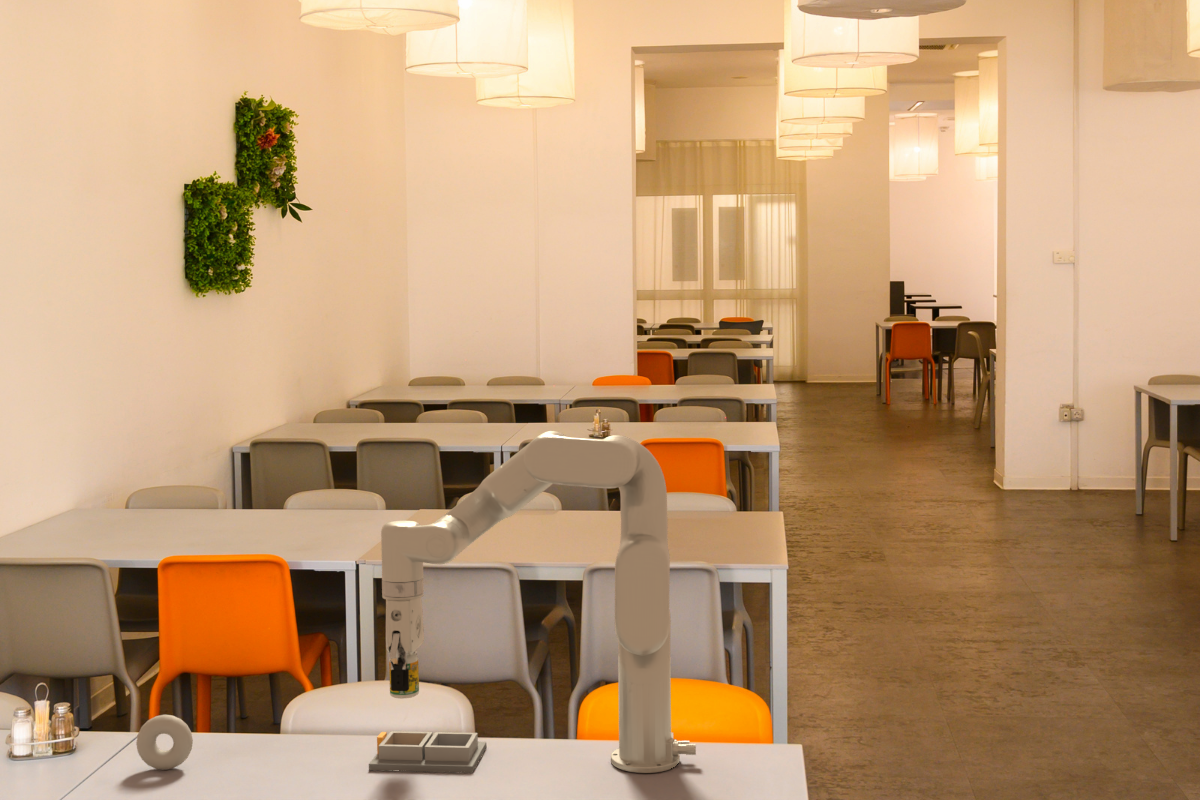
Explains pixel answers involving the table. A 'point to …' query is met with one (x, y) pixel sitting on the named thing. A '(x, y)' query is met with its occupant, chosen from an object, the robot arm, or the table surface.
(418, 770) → the compartment tray
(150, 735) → the donut
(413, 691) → the supplement bottle
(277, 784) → the table surface
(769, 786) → the table surface
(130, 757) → the table surface
